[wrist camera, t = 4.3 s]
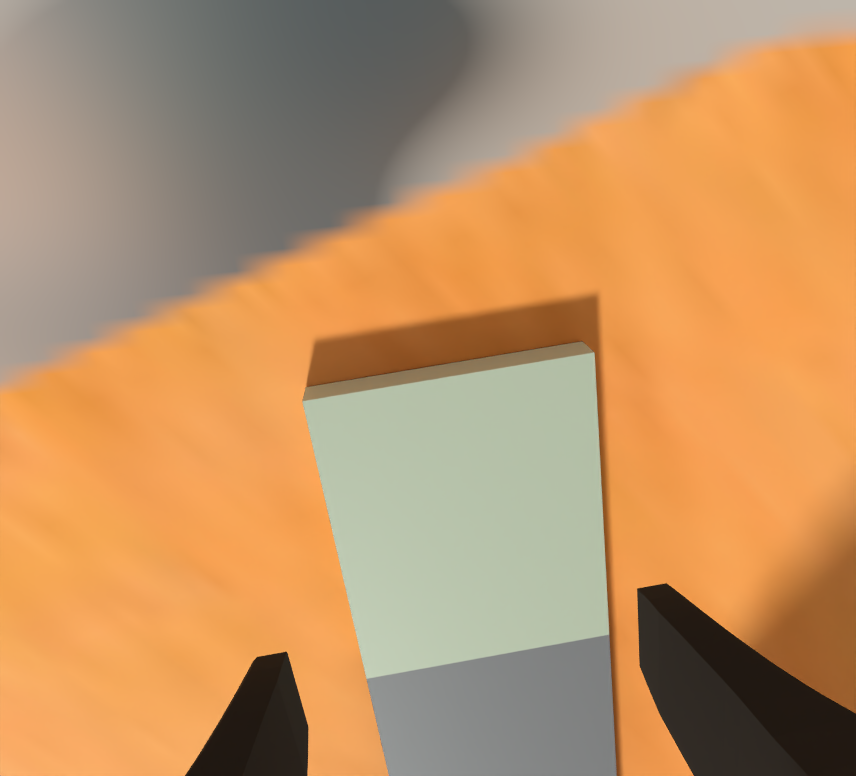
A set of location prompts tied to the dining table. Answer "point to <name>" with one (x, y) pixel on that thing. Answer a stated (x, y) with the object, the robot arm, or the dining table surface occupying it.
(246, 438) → the dining table surface
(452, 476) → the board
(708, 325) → the dining table surface
